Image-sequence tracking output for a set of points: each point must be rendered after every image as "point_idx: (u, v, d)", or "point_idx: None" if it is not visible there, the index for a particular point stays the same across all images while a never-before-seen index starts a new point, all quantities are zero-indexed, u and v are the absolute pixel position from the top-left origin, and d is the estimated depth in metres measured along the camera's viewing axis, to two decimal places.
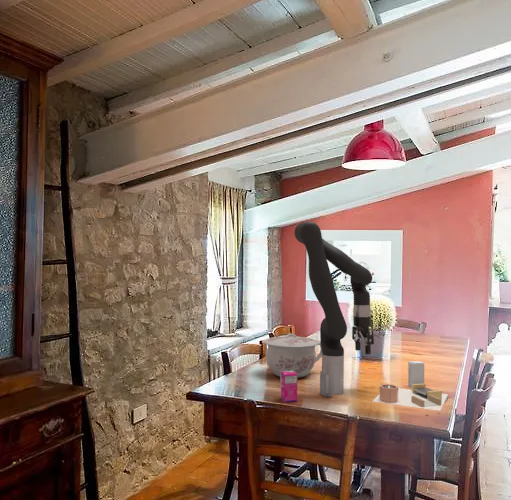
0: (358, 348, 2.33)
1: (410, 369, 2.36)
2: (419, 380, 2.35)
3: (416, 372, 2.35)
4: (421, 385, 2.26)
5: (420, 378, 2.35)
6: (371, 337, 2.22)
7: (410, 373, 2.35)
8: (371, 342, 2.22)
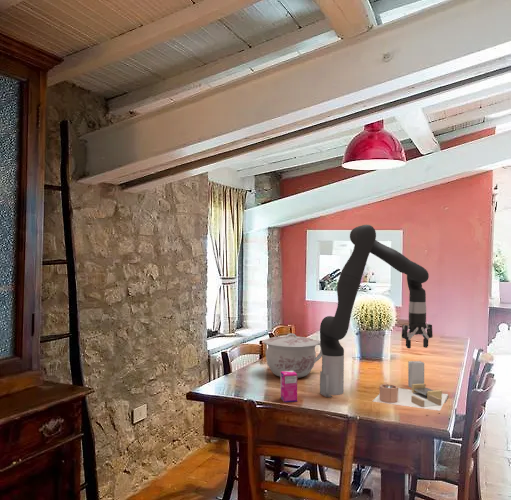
0: None
1: (410, 369, 2.36)
2: (419, 380, 2.35)
3: (416, 372, 2.35)
4: (421, 385, 2.26)
5: (420, 378, 2.35)
6: None
7: (410, 373, 2.35)
8: None
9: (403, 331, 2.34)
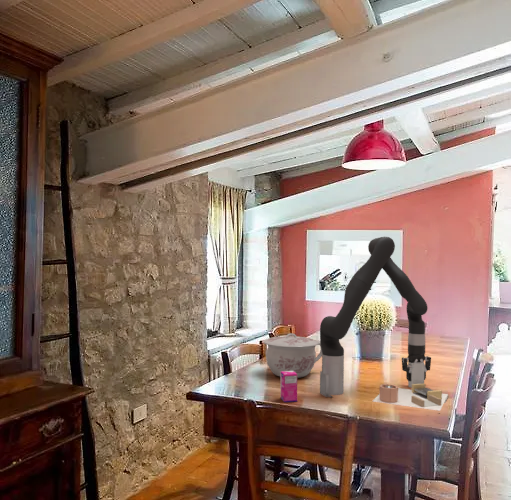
0: None
1: None
2: (419, 380, 2.35)
3: (416, 372, 2.35)
4: (421, 385, 2.26)
5: (420, 378, 2.35)
6: None
7: None
8: None
9: (403, 364, 2.35)
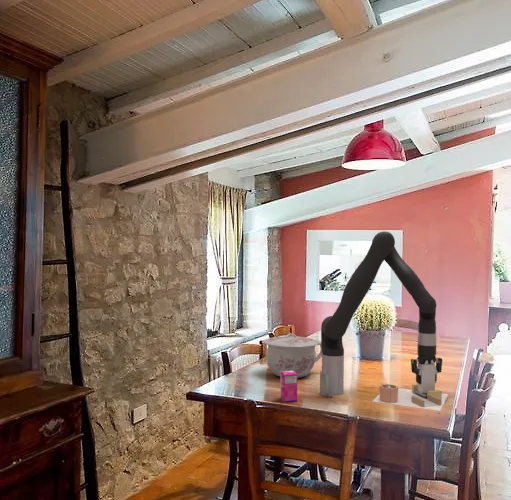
0: None
1: None
2: (429, 383, 2.19)
3: (426, 374, 2.19)
4: None
5: (430, 380, 2.19)
6: None
7: None
8: None
9: (412, 366, 2.19)
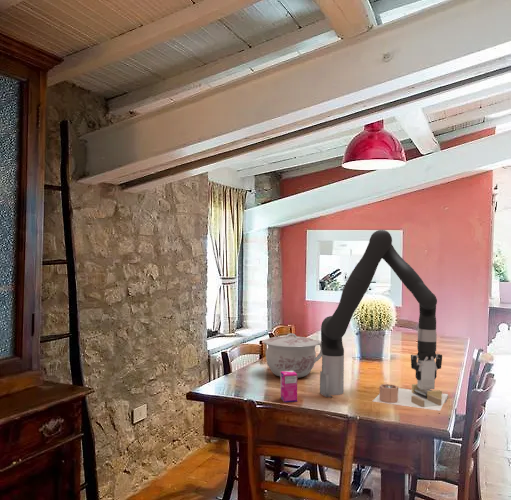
0: None
1: None
2: (429, 379, 2.19)
3: (426, 370, 2.19)
4: None
5: (430, 377, 2.19)
6: None
7: None
8: None
9: (412, 362, 2.19)
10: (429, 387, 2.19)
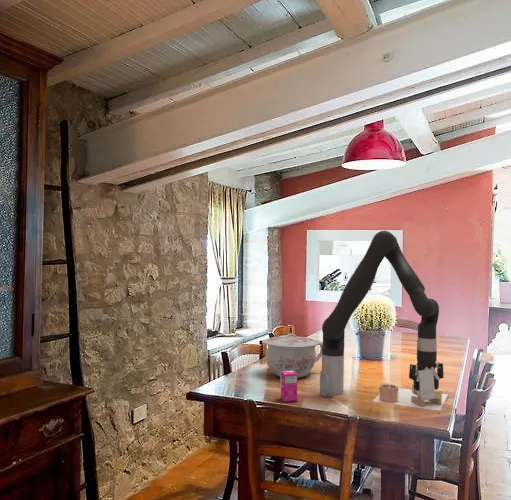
0: None
1: None
2: (429, 389, 2.07)
3: (425, 380, 2.07)
4: None
5: (429, 386, 2.07)
6: None
7: None
8: None
9: (411, 371, 2.07)
10: (430, 397, 2.08)
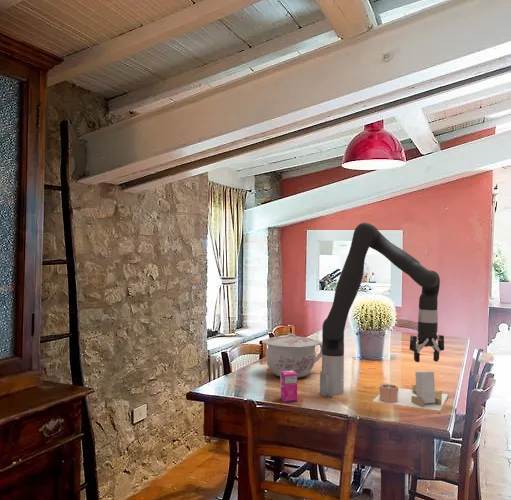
0: None
1: (419, 380, 2.08)
2: (429, 392, 2.08)
3: (426, 383, 2.08)
4: None
5: (430, 390, 2.08)
6: None
7: (420, 385, 2.08)
8: None
9: (411, 342, 2.07)
10: (430, 401, 2.07)
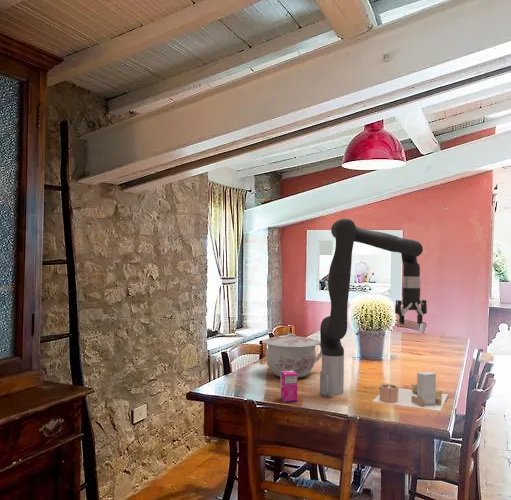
0: None
1: (420, 381, 2.08)
2: (430, 394, 2.07)
3: (427, 385, 2.07)
4: None
5: (431, 391, 2.07)
6: None
7: (421, 386, 2.07)
8: None
9: (396, 306, 2.27)
10: (430, 402, 2.07)
